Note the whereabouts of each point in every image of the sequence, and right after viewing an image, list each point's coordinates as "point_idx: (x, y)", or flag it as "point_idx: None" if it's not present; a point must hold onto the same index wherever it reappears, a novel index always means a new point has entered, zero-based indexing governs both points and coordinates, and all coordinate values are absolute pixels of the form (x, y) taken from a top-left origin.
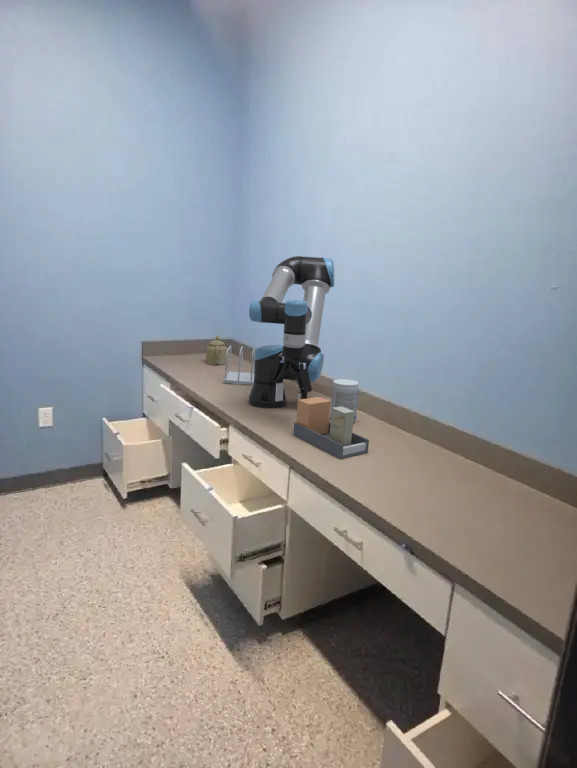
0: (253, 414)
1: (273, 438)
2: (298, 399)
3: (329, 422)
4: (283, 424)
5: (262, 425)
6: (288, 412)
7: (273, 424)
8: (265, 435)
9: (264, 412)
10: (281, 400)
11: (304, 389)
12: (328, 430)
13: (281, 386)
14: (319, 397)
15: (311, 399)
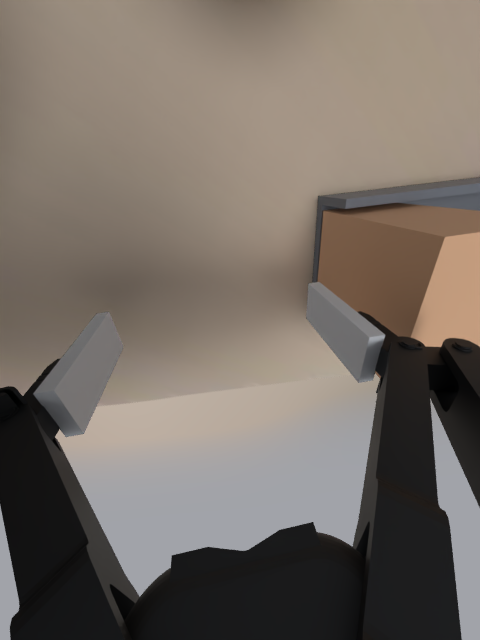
0: (63, 351)
1: (304, 367)
2: (333, 351)
3: (415, 191)
4: (206, 297)
5: (196, 360)
6: (23, 189)
7: (196, 328)
8: (277, 377)
9: (30, 305)
10: (111, 319)
11: (439, 395)
12: (398, 203)
13: (76, 384)
14: (454, 248)
15: (441, 326)
